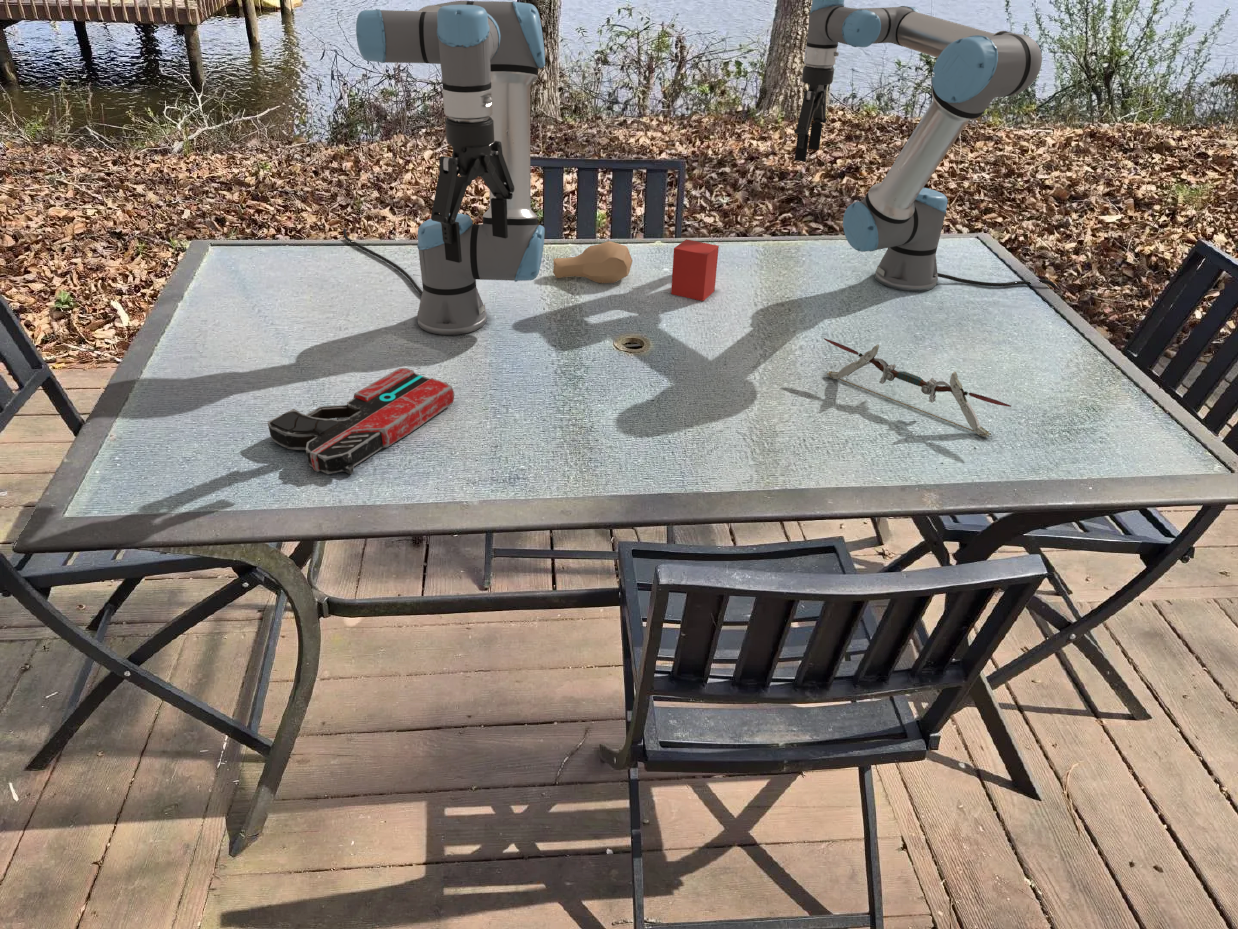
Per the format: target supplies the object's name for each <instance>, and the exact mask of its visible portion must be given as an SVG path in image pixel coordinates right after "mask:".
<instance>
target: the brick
mask: <svg viewBox="0 0 1238 929" xmlns="http://www.w3.org/2000/svg"><path fill="white" fill-rule="evenodd" d="M719 247H720V246H719V245H717V244H712V243H708V242H703V241H697V240H691V239H685V240H682V241H681V242H680V243H679V244H677V245H676V246H675V247H674V248H673V255H672V256H673V257H672V274H671V289H670V294H671V295H674V296H678V297H683V298H686V299H691V300H696V301H701V302H705V300H707V299H708V298H709V297H710V296H711V295H712V294H713V293H714V292H715V291H716V281H717V280H716V279H717V268H718V260H719V249H720V248H719Z"/></svg>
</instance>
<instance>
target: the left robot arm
mask: <svg viewBox="0 0 1238 929" xmlns="http://www.w3.org/2000/svg"><path fill="white" fill-rule="evenodd" d="M355 35H356V44H357V46H358V47H357V48H358V50H359V53H360V55H361V58H363V59H364V60H365V61H367V62H373V63H374V62H375V63H381V64H385V63H388V64H391V63H393V64H394V63H395V64H396V63H398V64H433V65H440V71H441V82H442V83H441V84H442V87H441V88H442V103H443V104H442V105H443V114H444V115H445V116H446V119H445V120H444V124H445V136H446V137H445V138H446V142H447V143H448V144H449V145H450V146H451V148H452V155H451V156H443V155H441V156H440V157H439V161H438V162H439V163H438V164H439V166H438V167H439V173H438V178H437V184H436V189H435V194H434V198H433V204H432V209H431V215H430V218H428V219H427V220H424V221H423V222H422V223H421V224H420V225H419V226H418V229H417V247H416V248H417V250H418V258H419V259H418V260H419V267H420V275H421V276H420V278H421V284H422V289H421V287H419V285H417V283H416V281H415V280H414V279H413V278H412V277H411V275H409V274H408V272H406V271H405V270H404V269H403V268H402V267H400V266H399V265H398V264H396V263H395V262H394V261H392V260H389V259H388V258H386V257H385V256H383V255H382V254H379V253H377V252H375V251H373V250H371V249H370V248H367V247H365V246H363V245H361V244H360V243H358V242H356V241H354V240H353V239H351V238H350V237H348V235H347V229H346V228H343V231H342V232H343V233H342V234H343V238H344V239H345V240H346V241H347V242H349V241H354V242H349V243H350V244H352V245H353V246H356V247H358V248H359V249H361V250H363V251H365V252H367V253H368V254H370V255H372V256H375V257H376V258H378V259H380V260H382V261H383V262H385V263H387V264H389V265H391V266H392V267H393V268H395V269H396V270H398V271H399V272H400V273H402V274H403V276H404V277H406V278H407V279H408V281H409V282H410V283H411V284H412V286H413V287H414V288H415V290H416V291H417V293H418V294H420V295H421V297H420V302H419V305H418V310H417V316H416V318H417V325H418V326H419V328H420V329H421V330H423V331H424V332H427V333H430V334H433V335H440V336H459V335H465V334H469V333H473V332H476V331H477V330H480V329H481V328H483V327H484V326H485V325H486V323H487V320H488V316H487V310H486V304H485V303H484V302H483V299H482V298H481V295H480V293H479V291H478V288H477V280H482V281H485V280H486V281H509V282H510V281H512V282H513V281H514V282H516V283H517V282H526V281H533V280H535V279H536V278H537V277H538V276H539V273H540V270H541V266H542V260H543V254H544V247H545V233H546V228H545V227H544V226H543V225H542V224H539V222H538V221H539V218H538V215H537V214H536V213H535V212H534V211H533V210H532V209H531V86H532V85H533V84H534V82H536V80H538V78H539V77H538V75H539V74H538V70H539V69H543V68H545V66H546V57H545V56H546V53H545V44H544V42H545V41H544V34H543V28H542V22H541V17H540V13H539V10H538V8H537V7H536V6H535V5H534V4H532V3H529V2H520V1H515V0H512V1H499V0H498V1H496V0H495V1H493V0H492V1H491V0H490V1H489V0H488V1H486V0H485V1H484V0H453V1H447V2H442V3H437V4H430V5H426V6H423V7H421V8H420V9H418V10H394V9H393V10H390V9H389V10H388V9H379V8H378V9H363V10H361V11H360V12H359V13H358V15H357V17H356V22H355ZM478 178H481V179H482V181H483V182H484V184H485V185H486V187H487V188H488V190H489V207H488V208H487V210H486V211H485V213H483V214H482V223H474V221H473V219H472V217H471V216H470V215H468V214H463V213H459V212H460V209H461V206H462V203H463V200H464V197H465V195H466V191H467V189H468V186H471V184H472V182H473V181H475V180H476V179H478Z"/></svg>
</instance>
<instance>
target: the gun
mask: <svg viewBox="0 0 1238 929" xmlns="http://www.w3.org/2000/svg"><path fill="white" fill-rule="evenodd" d="M455 394H456V393H455V391H454V388H453V386H452V385H451V384H449V383H448V382H447V381H441V380H438V379H436V378H432V377H431V378H429V377H426V376H423V375H421V374H418V373H416V372H415V371H414V370H413V369H410V368H407V367H399V368H397V369H395V370H393V371H392V372H390V373H388V374H386V375H384V376H383V377H381V378H379V379H378V380H376V381H374V382H372V383H371V384H369V385H367V386H365V387H363V388H361V389H360V390H358V391H356V392H355V393H353V398H352V399H350V400H349V401H347V402H346V404H340V405H339V404H338V405H324V406H323V405H321V406H319V407H317V408H315V409H313V410H312V411H310V412H308V413H306V414H305V413H302V412H300V411H298V410H297V409H295V408H292V409H290V410H288V411H286V412H284V413H283V414H280V415H278V416H276V417H274V418H273V419H270V420H268V421H267V422H266V423H267V426H268V431H269V436H270V439H271V440H272V441H273V442H274V443H275V444H278V445H279V446H281V447H283V448H285V449H288V450H297V451H305V453H306V458H307V463H308V466H309V467H311V468H312V469H313V471H314V472H317V473H319V472H322V473H324V474H326V475H331V474H337V473H340V472H341V473H342V472H343V473H346V474H348V475H352V474H354V473H355V472H354V467H356V466H357V465H359V464H360V463H362V462H364V461H365V460H367V459H368V458H369V457H372V455H374V454H376V453H377V452H379V451H381V450H382V449H384V448H385V449H386V448H389V447H390V446H392V445H393V444H395V443H396V442H398V441H399V440H401V439H402V438H404V437H406V436H407V435H409V434H411V433H412V432H414V431H415V430H416V429H418V428H420V427H421V426H423V425H424V424H425V423H426V422H428V421H429V420H431V419H432V418H434V417H436V416H437V415H438V414H440V413H441V412H443V411H444V410H445V409H447V408H448V407H450V406H451V405H453V404H454V401H455Z"/></svg>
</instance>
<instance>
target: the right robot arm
mask: <svg viewBox="0 0 1238 929" xmlns="http://www.w3.org/2000/svg"><path fill="white" fill-rule="evenodd" d="M807 27H808V28H807V35H806V36H807V37H806V43H805V44H806V45H805V51H804V56H803V57H804V59H803V63H804V64H805V65H804V66H803V67H802V75H801V82H802V83H803V84H807V85H808V89H806V90H804V92H803V98H802V103H801V108H800V112H799V115H798V120H797V125H796V129H794V134H795V135H797V138H796V147H795V152H794V162H801V163H802V162H803V163H805V162H806V161H807V155H808V150H814V151H819V150H820V146H821V139H822V132H823V124H826V123H827V90H828V85H829V86H830V85H831V84H832V83H833V82H834V74H835V68H834V65H835V64H836V60H837V57H839V56H840V54H839V51H838V47H839V44H843V45H846V46H847V45H848V46H851V47H852V48H868V47H870V46H871V45H875V44H877V45H878V44H893V45H896V46H901V47H903V48H907V49H910V50H912V51H915V52H919V53H922V54H924V55H928V56H930V57H933V58H936V60H935V63H934V66H933V70H932V73H934V75H933V76H932V78H931V82H932V88H931V96H932V99H933V100H932V101H931V102H930V104H929V106H928V107H927V109H926V111H925V113H924V114H923V115H922V117H921V119H920V121H919V122H918V124H917V125H916V127H915V128H914V129H913V132H912V133H911V135H910V137H909V138H908V139H907V141H906V143H905V145H904V146H903V148H902V149H901V151H900V152H899V154H898V155H897V157H896V159H895V160H894V161H893V164H892V165H891V167H890V168H889V170H888V171H887V173H886V175H885V176H884V178H883V179H882V181H881V182H877V183H875V184H873V185H871V187H870V188H869V189H868V191H867V193H866V195H865V196H864V198H863V199H862V200H861V201H854V202H853V203H851V204H849V205H848V206H847V207H846V209H845V211H844V213H843V217H842V227H843V233H844V236H845V239H846V242H847V243H848V244H849V245H850V247H851V248H853V249H854V250H855V251H858V252H861V253H866V252H871V253H872V252H875V251H879V250H884V249H886V251H885V253H884V254H883V256H882V258H881V260H880V262H879V264H878V265H877V266H876V269H875V274H874V278H875V280H876V281H877V282H878V283H880V284H881V285H883V286H885V287H887V288H891V289H894V290H898V291H904V292H925V291H930V290H932V289H934V288H935V287H937V285H938V279H939V278H941V279H947V280H950V281H955V282H958V283H964V284H968V285H974V286H975V285H976V286H983V287H994V288H995V287H997V288H999V287H1000V288H1001V287H1002V288H1004V287H1011V286H1023V285H1032V284H1031V283H1030V282H1024V281H1025V280H1015V281H1008V282H989V281H979V280H972V279H968V278H967V279H966V278H962V277H957V276H954V275H949V274H945V273H940V272H939V271H938V262H937V252H938V251H937V250H938V246H939V243H940V239H941V235H942V231H943V227H944V226H943V225H944V222H945V219H946V214H947V207H948V202H949V201H948V197H947V195H945V193H942V192H940V191H938V190H935V189H932V188H929V187H925V186H926V185H927V183H928V181H929V180H930V179H931V177H932V176H933V174H934V173H935V171H936V170H937V168H938V167H939V165H940V164H941V162H942V161H943V159H944V158H945V157H946V156H947V154H948V152H949V151H950V149H951V148H952V146H953V145H954V144H955V142H956V140H957V139H958V137H959V136H960V135H961V133H962V132H963V130H964V129H965V127H966V126H967V125H968V123H969V121H974V120H978V119H980V117H981V118H982V116H983V114H984V113H985V111H986V110H987V109H988V107H989V106H990V104H991V103H992V102H993V100H994V99H998V98H1006V97H1007V98H1008V97H1012V96H1015V95H1017V94H1020V93H1022V92H1024V91H1026V90H1027V89H1028V88H1029V87H1030V86H1031V85H1032V84H1033V83H1034V82H1035V81H1036V79H1037V77H1038V76H1039V74H1040V71H1041V68H1042V63H1043V54H1042V51H1041V48H1040V46H1039V45H1038V43H1037V42H1036V40H1034V39H1033V38H1032V37H1031V36H1028V35H1026V34H1021V33H1016V32H1010V31H1008V30H999V31H997V32H995V33H993V32H989V31H986V30H982V29H979V28H975V27H972V26H968V25H965V24H961V23H957V22H954V21H950V20H946V19H943V18H940V17H936V16H933V15H928V14H926V13H922V12H920V10H919V9H918V8H916V7H914V6H908V5H900V6H891V7H864V8H863V7H862V8H861V7H860V8H858V7H857V8H856V7H855V8H854V7H846V6H845V0H812V1H811V5H810V11H809V20H808V26H807ZM812 121H813V122H812ZM1038 280H1039V281H1040V282H1042V283H1041V284H1046V285H1048V286H1050V287H1051V288H1053V289H1057V288H1058V286H1057V284H1056V283H1055V282H1053V281H1052V280H1050V279H1045V278H1039V279H1038ZM1015 282H1017V283H1015Z"/></svg>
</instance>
